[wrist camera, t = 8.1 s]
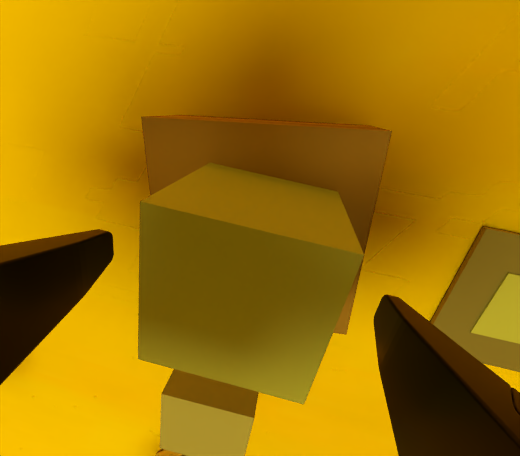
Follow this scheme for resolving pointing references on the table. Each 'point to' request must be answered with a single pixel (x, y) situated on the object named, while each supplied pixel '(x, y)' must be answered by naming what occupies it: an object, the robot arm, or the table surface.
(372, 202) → the walnut block
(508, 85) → the table surface
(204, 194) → the sage cube
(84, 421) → the table surface
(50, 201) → the table surface
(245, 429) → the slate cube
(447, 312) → the swatch card
